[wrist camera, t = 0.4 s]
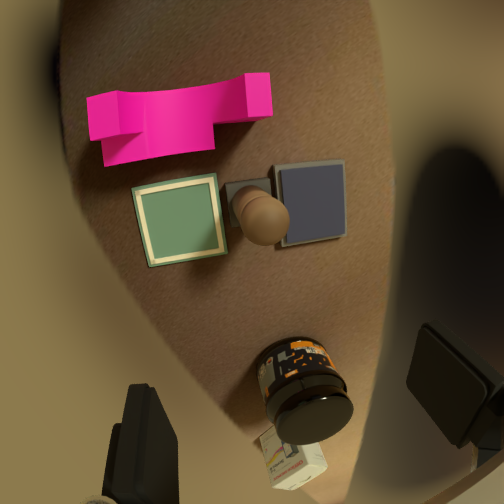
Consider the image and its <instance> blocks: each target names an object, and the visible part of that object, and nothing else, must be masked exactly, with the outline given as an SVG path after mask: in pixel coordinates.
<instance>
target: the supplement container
mask: <svg viewBox="0 0 504 504" xmlns="http://www.w3.org/2000/svg"><path fill="white" fill-rule="evenodd" d="M256 376H257V380H258V382H259V385H260V389H261V392H262V396H263V399H264V403H265V406H266V414H267V417H268V419H269V420H270V421H271V422H272V423H273V424H274V426H275V430H276V433H277V436H278V438H279V439H280V440H281V441H283V442H285V443H287V444H290V445H309V444H313V443H317V442H320V441H323V440H325V439H327V438H329V437H331V436H333V435H334V434H336V433H337V432H339V431H340V430H341V429H342V428H343V427H344V426H345V425H346V424H347V423H348V422H349V420H350V419H351V417H352V414H353V410H354V408H353V404H352V402H351V400H350V398H349V397H348V395H347V386H346V383H345V381H344V380H343V378H342V377H341V376H340V375H339V373H338V371H337V370H336V368H335V366H334V365H333V363H332V361H331V359H330V358H329V356H328V354H327V352H326V350H325V348H324V347H323V346H322V345H321V343H319V342H318V341H316V340H314V339H312V338H309V337H302V336H297V337H290V338H286V339H283V340H281V341H278V342H277V343H275V344H273V345H272V346H270V347H269V348H268V349H267V350H266V351H265V352H264V353H263V354H262V355H261V357H260V359H259V361H258V363H257V367H256Z"/></svg>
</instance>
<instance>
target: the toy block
mask: <svg viewBox="0 0 504 504" xmlns="http://www.w3.org/2000/svg"><path fill="white" fill-rule="evenodd" d="M87 109H88V122H89V133H90V141H101V144H102V152H103V160H104V167H107V166H111V165H116V164H122V163H127V162H132V161H138V160H144V159H149V158H154V157H160V156H166V155H172V154H179V153H186V152H193V151H202V150H211V149H215V144H214V133H213V125H214V124H224V123H236V122H249V121H258V120H261V119H264V118H267V117H271V116H273V110H272V98H271V86H270V74H269V73H244V74H243V75H241V76H239V77H237V78H234V79H231V80H227V81H223V82H219V83H214V84H209V85H204V86H198V87H191V88H184V89H176V90H167V91H156V92H121V91H117V90H116V91H112V92H108V93H104V94H100V95H96V96H92V97H88V98H87Z"/></svg>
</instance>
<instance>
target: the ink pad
mask: <svg viewBox="0 0 504 504" xmlns="http://www.w3.org/2000/svg"><path fill="white" fill-rule="evenodd" d="M272 166H273V176H274V186H275V196H276V199H277V200H279V201H280V202H281V203H282V204H283V205H284V206H285V207H286V209H287V211H288V213H289V218H290V224H289V229H288V231H287V233H286V235H285V236H284V237H283V239H281V240H280V245H281V246H282V247H285V246H290V245H296V244H302V243H308V242H314V241H320V240H326V239H331V238H337V237H343V236H347V207H346V180H345V162H344V159H328V160H316V161H305V162H295V163H285V164H276V165H272Z"/></svg>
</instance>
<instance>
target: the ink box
mask: <svg viewBox="0 0 504 504" xmlns="http://www.w3.org/2000/svg"><path fill="white" fill-rule="evenodd" d="M259 438H260V442H261V446H262V450H263V454H264V458H265V462H266V465H267V470H268V474H269V478H270V482H271V485H272V488H278V489H285V490H294V489H296V488H298V487H300V486H302V485H303V484H305V483H306V482H308V481H310V480H312V479H313V478H315V477H316V476H318V475H319V474H321V473H322V472H324V471H325V470H326V468H327V467H328V466H327V463H326V461H325V458H324V456H323V453H322V450H321V448H320V445H319V443H318V442H317V443H313V444H309V445H290V444H287V443H285V442H283V441H281V440H280V439H279V438H278V436H277V433H276V430H275V426H272V427H271V428H270V429H269V430H268V431H266V432H265V433H264V434H263V435H262V436H260V437H259Z"/></svg>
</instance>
